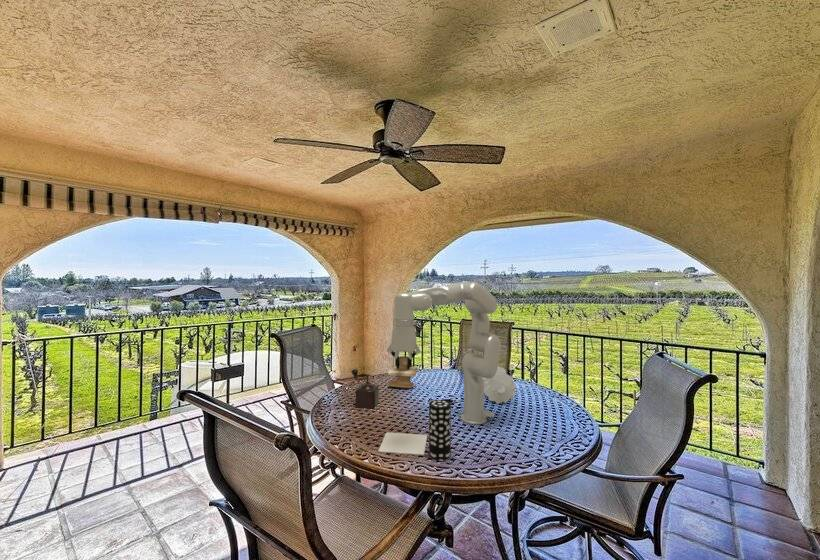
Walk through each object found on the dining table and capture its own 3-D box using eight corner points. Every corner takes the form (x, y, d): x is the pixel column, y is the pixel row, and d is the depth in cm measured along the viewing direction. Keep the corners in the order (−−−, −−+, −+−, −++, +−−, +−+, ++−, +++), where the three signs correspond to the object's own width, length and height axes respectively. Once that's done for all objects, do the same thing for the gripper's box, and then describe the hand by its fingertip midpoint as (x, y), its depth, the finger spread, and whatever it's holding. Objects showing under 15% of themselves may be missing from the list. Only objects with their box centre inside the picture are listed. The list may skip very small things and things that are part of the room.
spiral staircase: (497, 397, 204) (509, 411, 179) (471, 384, 205) (479, 397, 180) (510, 369, 205) (524, 380, 180) (484, 357, 205) (494, 366, 180)
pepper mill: (379, 401, 186) (379, 369, 186) (374, 409, 175) (374, 374, 175) (352, 399, 188) (352, 367, 188) (345, 407, 178) (345, 373, 177)
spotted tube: (448, 449, 135) (448, 399, 135) (452, 460, 127) (452, 407, 126) (428, 449, 135) (428, 399, 134) (429, 461, 126) (430, 407, 126)
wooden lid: (418, 369, 144) (418, 354, 144) (415, 376, 133) (415, 361, 133) (392, 367, 145) (392, 353, 145) (387, 375, 134) (387, 360, 134)
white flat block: (427, 435, 146) (427, 434, 146) (423, 455, 130) (423, 454, 130) (386, 433, 149) (386, 432, 149) (378, 452, 133) (378, 451, 133)
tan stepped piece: (415, 384, 215) (415, 361, 215) (411, 390, 204) (411, 365, 204) (392, 382, 219) (393, 359, 219) (387, 388, 208) (387, 364, 207)
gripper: (425, 322, 141) (424, 366, 142) (385, 321, 144) (385, 364, 144) (423, 325, 134) (422, 371, 134) (382, 324, 136) (381, 369, 136)
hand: (403, 367), depth 139 cm, fingers closed on wooden lid, 4 cm apart
